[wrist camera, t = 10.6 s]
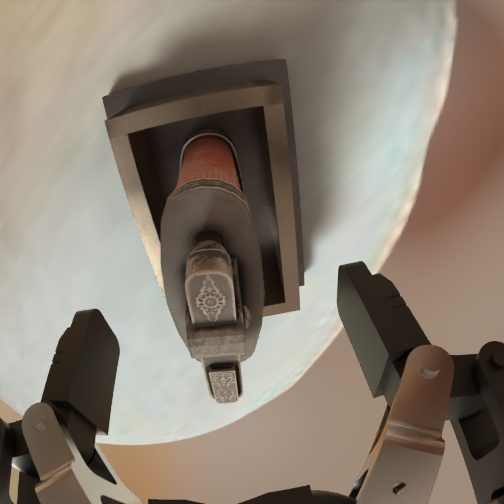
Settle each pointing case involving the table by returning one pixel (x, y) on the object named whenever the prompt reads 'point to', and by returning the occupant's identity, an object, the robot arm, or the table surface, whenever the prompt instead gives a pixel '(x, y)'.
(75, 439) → the robot arm
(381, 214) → the table surface
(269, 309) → the rectangular tray
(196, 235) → the lighter
